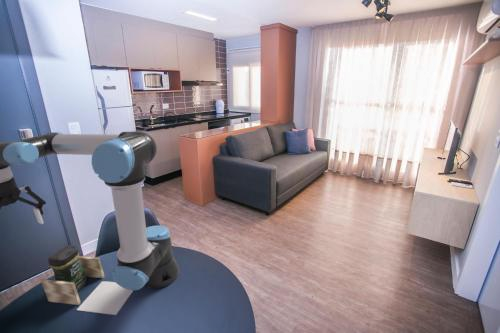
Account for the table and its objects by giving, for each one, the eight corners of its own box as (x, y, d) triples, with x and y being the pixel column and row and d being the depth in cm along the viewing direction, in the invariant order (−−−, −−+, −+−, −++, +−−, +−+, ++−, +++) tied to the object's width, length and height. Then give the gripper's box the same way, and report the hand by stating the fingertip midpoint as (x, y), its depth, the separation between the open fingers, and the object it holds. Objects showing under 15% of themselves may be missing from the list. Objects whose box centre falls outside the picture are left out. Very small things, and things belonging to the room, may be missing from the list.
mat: (137, 284, 103) (137, 284, 103) (116, 315, 90) (115, 314, 90) (102, 281, 105) (102, 281, 105) (76, 310, 92) (76, 309, 92)
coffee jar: (72, 298, 97) (59, 260, 91) (55, 296, 98) (41, 258, 92) (91, 280, 106) (80, 244, 100) (75, 278, 107) (63, 242, 101)
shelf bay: (104, 276, 108) (99, 257, 104) (78, 304, 94) (72, 284, 91) (75, 273, 110) (69, 255, 106) (46, 301, 96) (38, 281, 93)
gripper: (35, 167, 98) (51, 214, 105) (-59, 193, 77) (-31, 249, 84) (45, 169, 94) (61, 217, 102) (-49, 197, 73) (-21, 255, 80)
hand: (20, 232), depth 93 cm, fingers open, 13 cm apart
